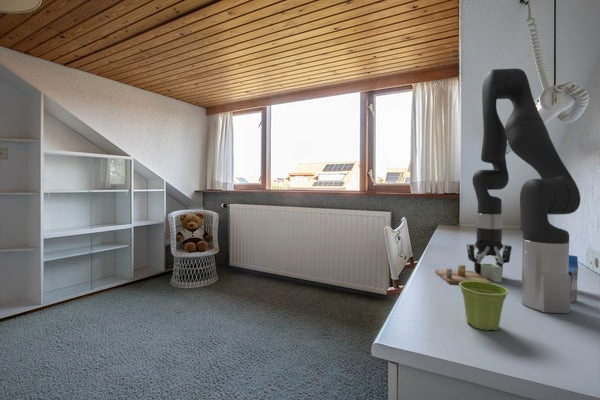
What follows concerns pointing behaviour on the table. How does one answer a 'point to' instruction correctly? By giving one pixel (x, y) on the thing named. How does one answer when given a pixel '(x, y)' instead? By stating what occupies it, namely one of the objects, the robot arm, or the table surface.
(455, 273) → the locating plate
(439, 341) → the table surface
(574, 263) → the label tape box
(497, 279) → the square ring with handle
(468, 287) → the plant pot
